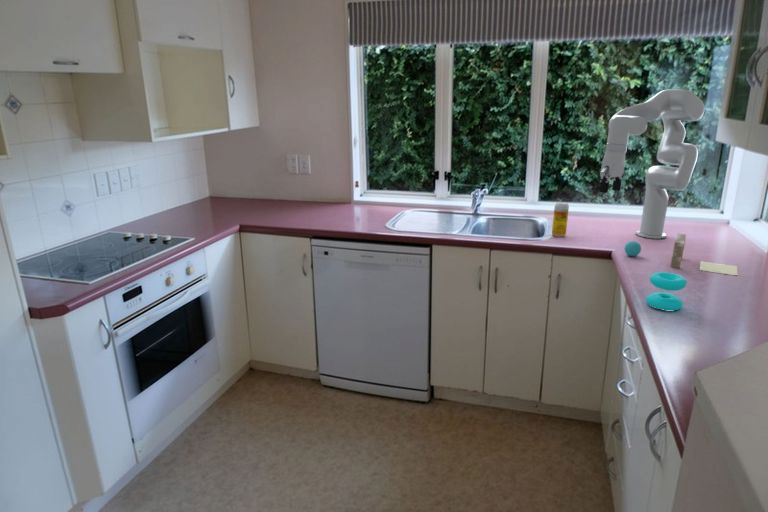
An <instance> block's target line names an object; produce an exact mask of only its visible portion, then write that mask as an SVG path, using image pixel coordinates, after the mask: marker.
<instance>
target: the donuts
mask: <svg viewBox="0 0 768 512" xmlns="http://www.w3.org/2000/svg"><path fill="white" fill-rule="evenodd" d="M649 282H650V284H652V286H654V287H656V288H657V289H660V290H664V291H671V292H673V291H675V292H676V291H680V290H683V289H684V288H685V287H687V283H688V281H687V280H686V278H685V277H683V276H681V275H680V274H677V273H673V272H667V271H665V272H664V271H659V272H658V271H657V272H655V273H653V274H651V275H650V277H649ZM645 301H646V304H647V305H648V304H649V305H651V306H653V307H656V308H659V309H664V310H678V309H680V310H681V309H682V308H683V305H684V303H683V301H682V299H681V298H680V297H678V296H677V295H674V294H673V293H668V292H662V291H661V292H653V293H650V294H649V295H648V296H646V300H645ZM649 305H648V306H649ZM651 306H650V307H651ZM678 311H679V310H678Z"/></svg>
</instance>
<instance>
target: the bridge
mask: <svg viewBox="0 0 768 512" xmlns="http://www.w3.org/2000/svg"><path fill="white" fill-rule="evenodd" d="M686 237H687V234H685V233H677V234H676V237H675V241H674V244H673V245H674V246H673V250H672V256H671V263H670V268H675V269H681V262H682V260H683V254H684V249H685V245H686V240H687V239H686Z"/></svg>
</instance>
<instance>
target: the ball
mask: <svg viewBox="0 0 768 512" xmlns="http://www.w3.org/2000/svg"><path fill="white" fill-rule="evenodd" d="M641 251H642V246H641V244H640V243H639V242H638V241H634V240H633V241H628V242H627V243H626V244H625V246H624V252H625V254H626V255H628V256H630V257H636V256H638V255H639V254H640V253H642V252H641Z"/></svg>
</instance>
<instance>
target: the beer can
mask: <svg viewBox="0 0 768 512" xmlns="http://www.w3.org/2000/svg"><path fill="white" fill-rule="evenodd" d="M569 207H570V206H569V203H568V202H563V201H557V202H555V204H554V209H553V219H552V228H551V234H552V236H553V235H554V237H556V236H557V238H563V236H564V237H565V236H566V235H567V227H568V219H569V218H568V217H569V209H570V208H569Z"/></svg>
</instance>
